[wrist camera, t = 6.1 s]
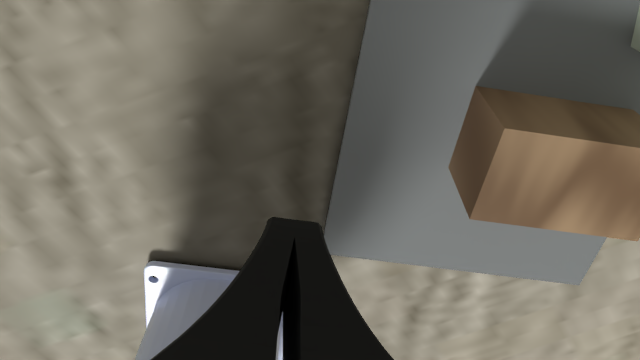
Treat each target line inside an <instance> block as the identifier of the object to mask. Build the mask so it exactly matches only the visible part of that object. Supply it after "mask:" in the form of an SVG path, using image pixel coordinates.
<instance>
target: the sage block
mask: <svg viewBox="0 0 640 360" xmlns="http://www.w3.org/2000/svg"><path fill="white" fill-rule="evenodd" d="M631 47H632V48H634V49H636V50H637V51H639V52H640V6H639V10H638V15H637V19H636V24H635V28H634V33H633V38H632V42H631Z"/></svg>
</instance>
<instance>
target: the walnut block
mask: <svg viewBox="0 0 640 360" xmlns="http://www.w3.org/2000/svg"><path fill="white" fill-rule="evenodd" d="M448 168H449V170H450V173H451V175H452V178H453V180H454V183H455V185H456V187H457V190H458V192H459V195H460V197H461V200H462V202H463V205H464V207H465V209H466V212H467V214H468V217H469V219H472V220H479V221H487V222H494V223H502V224H510V225H517V226H525V227H533V228H540V229H548V230H556V231H563V232H571V233H579V234H586V235H594V236H601V237H609V238H617V239H624V240H632V241H638V240H639V238H640V115H639V114H638V113H637V112H636V111H634V110H632V109H625V108H619V107H612V106H605V105H599V104H592V103H586V102H579V101H572V100H566V99H559V98H553V97H546V96H539V95H533V94H526V93H520V92H513V91H506V90H500V89H493V88H486V87H480V86H475V89H474V92H473V95H472V98H471V101H470V104H469V107H468V110H467V113H466V116H465V119H464V122H463V125H462V128H461V131H460V134H459V137H458V140H457V143H456V146H455V149H454V152H453V155H452V158H451V161H450V163H449V166H448Z"/></svg>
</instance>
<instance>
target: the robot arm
mask: <svg viewBox="0 0 640 360" xmlns="http://www.w3.org/2000/svg"><path fill="white" fill-rule="evenodd" d="M152 276H156V277H157V278H154V277H152ZM144 286H145V309H146V331H145V334H144V337H143V339H142V342H141V344H140V347H139V350H138V352H137V355H136V357H135V360H394V359H393V358H392V357H391V356H390V355H389V353H388V352H387V351H386V350H385V349H384V347H383V346H382V345H381V343H380V342H379V341H378V339H377V338H376V337H375V335H374V334H373V332H372V331H371V330H370V328H369V327H368V325H367V324H366V322H365V321H364V319H363V318H362V316H361V314H360V313H359V311H358V309H357V308H356V306H355V304H354V303H353V301H352V299H351V297H350V295H349V294H348V292H347V290H346V288H345V286H344V284H343V282H342V280H341V278H340V276H339V274H338V271H337V269H336V267H335V265H334V263H333V260H332V258H331V255H330V253H329V250H328V247H327V245H326V242H325V239H324V235H323V232H322V227H321V226H320V224H319V223H316V222H308V221H300V220H292V219H284V218H276V217H272V218H270V219H269V220H268V221H267V225H266V227H265V230H264V232H263V234H262V236H261V238H260V240H259V242H258V244H257V245H256V247H255V249H254V250H253V252H252V254H251V255H250V257H249V258H248V260H247V261H246V263H245V264H244V266H243V267H242V269H241V270H240V271H236V270H227V269H219V268H210V267H202V266H193V265H185V264H177V263H168V262H160V261H150V262H148V263H147V264H146V266H145V268H144Z"/></svg>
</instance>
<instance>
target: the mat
mask: <svg viewBox="0 0 640 360" xmlns="http://www.w3.org/2000/svg"><path fill="white" fill-rule="evenodd" d="M639 6H640V0H370V3H369V8H368V13H367V18H366V23H365V28H364V33H363V38H362V43H361V49H360V54H359V59H358V64H357V69H356V74H355V79H354V84H353V89H352V94H351V99H350V104H349V109H348V114H347V119H346V124H345V129H344V134H343V139H342V144H341V149H340V154H339V159H338V164H337V169H336V174H335V179H334V184H333V189H332V194H331V199H330V204H329V209H328V214H327V219H326V224H325V229H324V234H323V235H324V239H325V242H326V245H327V247H328V250H329V253H330V255H337V256H345V257H354V258H362V259H370V260H378V261H386V262H394V263H402V264H411V265H419V266H427V267H435V268H443V269H451V270H459V271H468V272H476V273H484V274H492V275H500V276H508V277H516V278H525V279H533V280H541V281H549V282H557V283H565V284H573V285H580V283H581V281H582V279H583V278H584V276H585V274H586V273H587V271H588V269H589V267H590V266H591V264H592V262H593V260H594V259H595V257H596V255H597V254H598V252H599V250H600V248H601V247H602V245H603V243H604V242H605V240H606V238H607V237H601V236H594V235H586V234H579V233H571V232H563V231H556V230H548V229H540V228H533V227H525V226H517V225H510V224H502V223H494V222H487V221H479V220H472V219H469V217H468V214H467V212H466V209H465V207H464V205H463V202H462V200H461V197H460V195H459V192H458V190H457V187H456V185H455V183H454V180H453V178H452V175H451V173H450V170H449V168H448V166H449V163H450V161H451V158H452V155H453V152H454V149H455V146H456V143H457V140H458V137H459V134H460V131H461V128H462V125H463V122H464V119H465V116H466V113H467V110H468V107H469V104H470V101H471V98H472V95H473V92H474V89H475V86H480V87H486V88H493V89H500V90H506V91H513V92H520V93H526V94H533V95H539V96H546V97H553V98H559V99H566V100H572V101H579V102H586V103H592V104H599V105H605V106H612V107H619V108H625V109H632V110H634V111H636V112H637V113H638V114H639V115H640V52H639V51H637V50H636V49H634V48H632V47H631V42H632V38H633V33H634V28H635V24H636V19H637V15H638V10H639Z"/></svg>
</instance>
